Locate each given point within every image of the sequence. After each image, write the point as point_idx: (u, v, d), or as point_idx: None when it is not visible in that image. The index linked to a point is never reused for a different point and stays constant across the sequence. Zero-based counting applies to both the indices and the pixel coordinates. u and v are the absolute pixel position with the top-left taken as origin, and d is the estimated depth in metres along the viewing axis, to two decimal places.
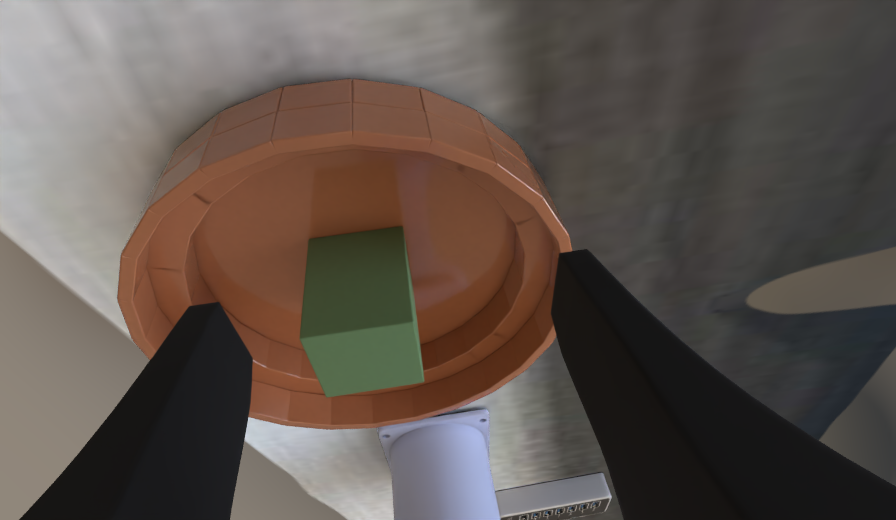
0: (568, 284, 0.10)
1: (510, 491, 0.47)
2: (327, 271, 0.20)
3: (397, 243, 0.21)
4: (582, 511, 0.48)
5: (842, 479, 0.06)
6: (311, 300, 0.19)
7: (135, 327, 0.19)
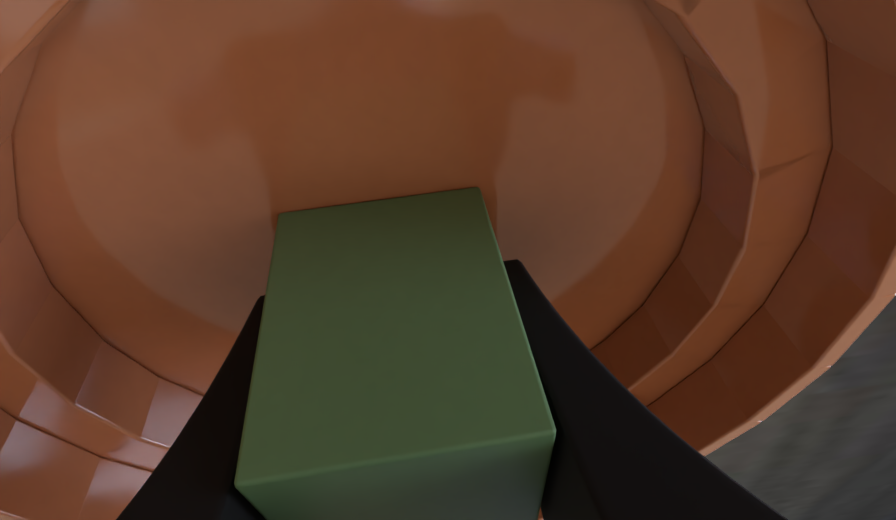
0: None
1: None
2: (318, 285, 0.08)
3: (474, 222, 0.09)
4: None
5: (720, 501, 0.06)
6: (275, 361, 0.07)
7: None
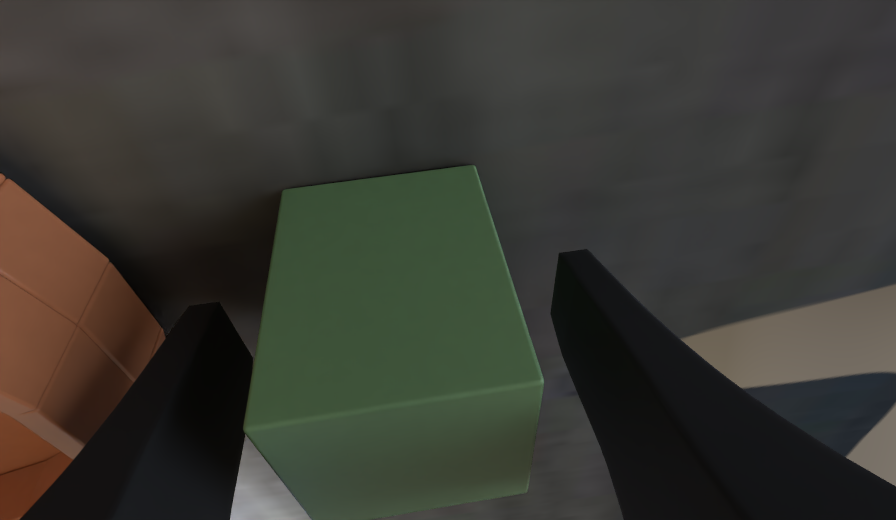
0: (568, 284, 0.10)
1: None
2: (321, 254, 0.09)
3: (469, 196, 0.10)
4: None
5: (842, 479, 0.06)
6: (280, 322, 0.08)
7: None
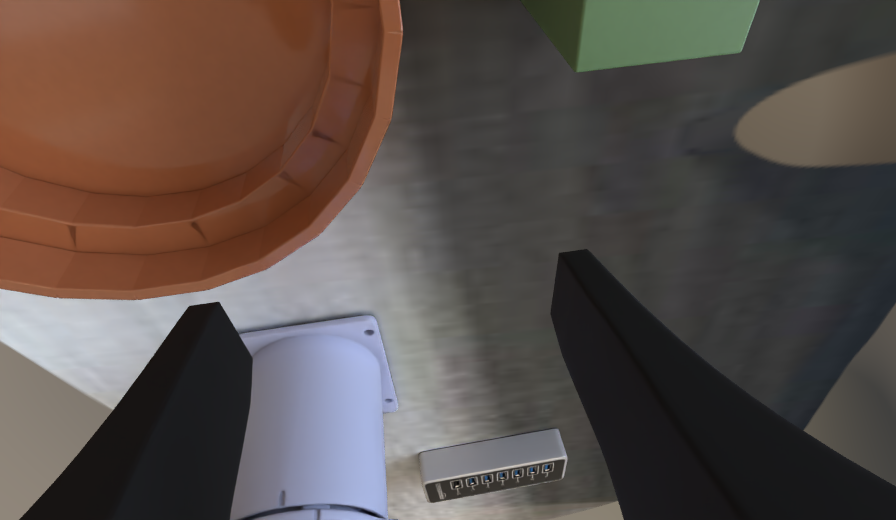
0: (568, 284, 0.10)
1: (440, 451, 0.37)
2: None
3: None
4: (533, 477, 0.38)
5: (842, 479, 0.06)
6: None
7: None
